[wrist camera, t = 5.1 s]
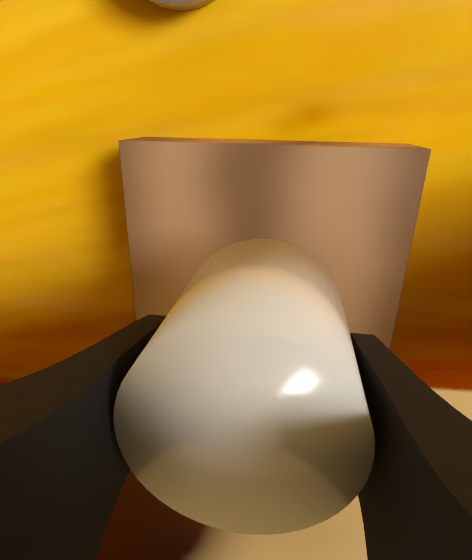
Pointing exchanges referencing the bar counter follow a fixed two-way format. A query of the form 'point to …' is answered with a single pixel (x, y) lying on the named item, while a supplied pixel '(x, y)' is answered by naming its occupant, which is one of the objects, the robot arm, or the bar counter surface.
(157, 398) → the cream glossy cylinder
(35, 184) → the bar counter surface
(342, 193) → the walnut block
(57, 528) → the robot arm
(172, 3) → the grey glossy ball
